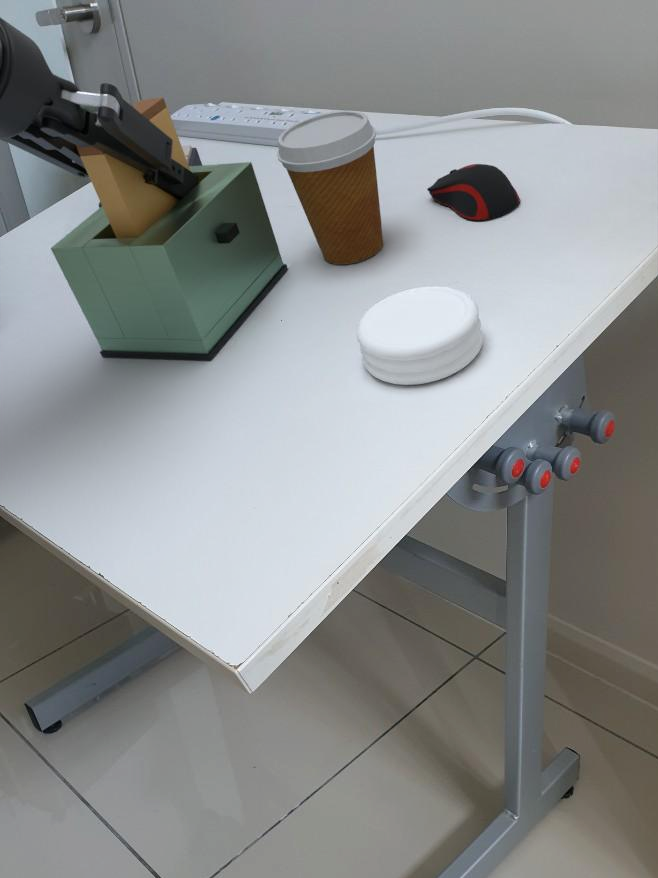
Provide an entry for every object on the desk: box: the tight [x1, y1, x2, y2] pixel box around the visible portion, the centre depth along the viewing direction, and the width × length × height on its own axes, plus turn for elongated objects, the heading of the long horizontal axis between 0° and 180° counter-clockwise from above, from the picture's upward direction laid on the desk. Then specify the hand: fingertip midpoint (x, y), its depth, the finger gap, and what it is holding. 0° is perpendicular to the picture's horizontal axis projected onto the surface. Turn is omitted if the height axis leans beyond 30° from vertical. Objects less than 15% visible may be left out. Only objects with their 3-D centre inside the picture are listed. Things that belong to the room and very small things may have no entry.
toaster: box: [50, 161, 289, 362], centre depth 82 cm, size 13×16×11 cm
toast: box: [76, 97, 190, 238], centre depth 77 cm, size 2×10×11 cm, turn 160°
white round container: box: [355, 285, 484, 386], centre depth 71 cm, size 10×10×4 cm
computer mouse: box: [427, 163, 521, 222], centre depth 90 cm, size 6×11×4 cm, turn 32°
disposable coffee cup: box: [276, 110, 384, 266], centre depth 85 cm, size 10×10×12 cm
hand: (179, 192), depth 81 cm, fingers closed on toast, 2 cm apart
